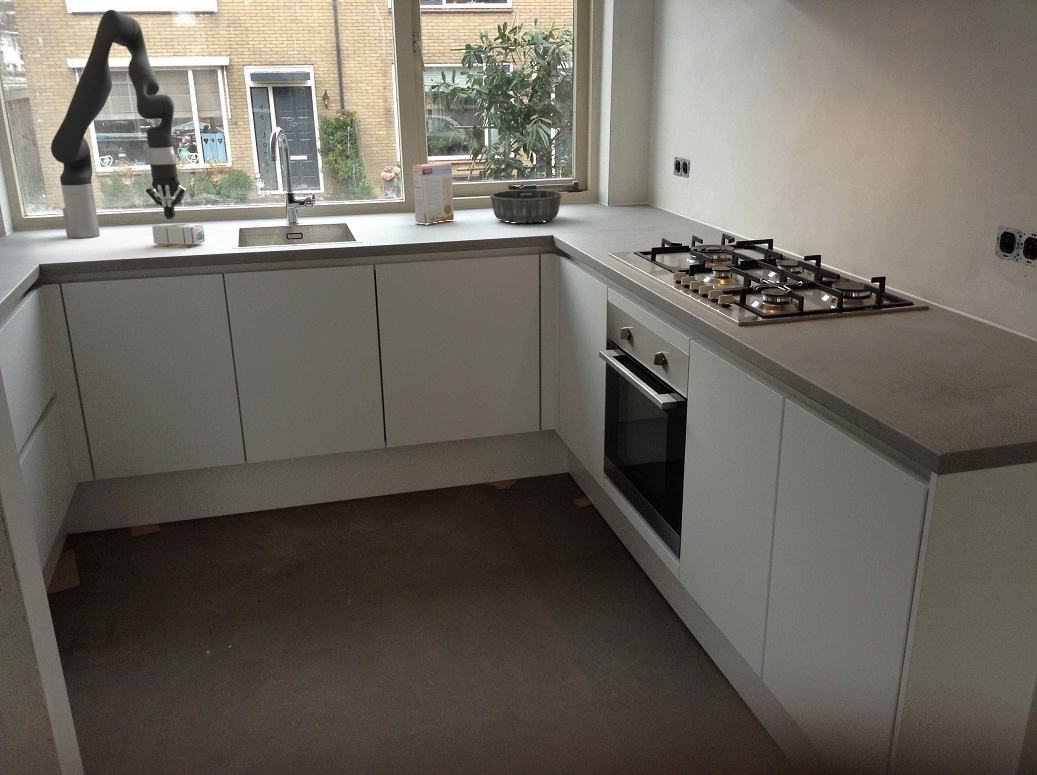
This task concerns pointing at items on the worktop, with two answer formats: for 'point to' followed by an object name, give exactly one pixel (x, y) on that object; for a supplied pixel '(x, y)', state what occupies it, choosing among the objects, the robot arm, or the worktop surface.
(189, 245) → the wooden slatted trivet
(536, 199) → the bundt pan
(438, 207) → the cracker box
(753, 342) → the worktop surface
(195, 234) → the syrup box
